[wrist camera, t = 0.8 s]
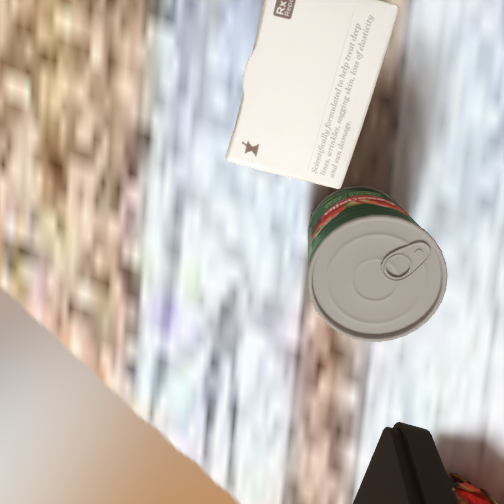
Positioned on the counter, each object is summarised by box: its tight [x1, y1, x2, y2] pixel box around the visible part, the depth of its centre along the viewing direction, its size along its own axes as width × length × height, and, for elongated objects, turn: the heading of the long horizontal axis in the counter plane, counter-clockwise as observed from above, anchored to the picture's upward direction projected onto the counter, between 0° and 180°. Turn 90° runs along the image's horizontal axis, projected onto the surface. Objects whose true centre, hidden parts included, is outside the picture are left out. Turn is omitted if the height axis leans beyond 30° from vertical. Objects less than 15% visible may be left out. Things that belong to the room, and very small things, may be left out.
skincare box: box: [226, 0, 399, 189], centre depth 26 cm, size 8×6×15 cm
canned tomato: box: [308, 186, 447, 342], centre depth 30 cm, size 8×8×11 cm
